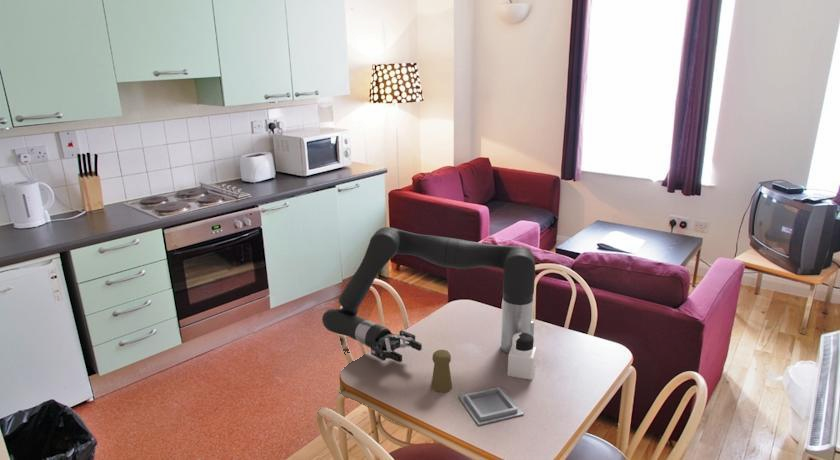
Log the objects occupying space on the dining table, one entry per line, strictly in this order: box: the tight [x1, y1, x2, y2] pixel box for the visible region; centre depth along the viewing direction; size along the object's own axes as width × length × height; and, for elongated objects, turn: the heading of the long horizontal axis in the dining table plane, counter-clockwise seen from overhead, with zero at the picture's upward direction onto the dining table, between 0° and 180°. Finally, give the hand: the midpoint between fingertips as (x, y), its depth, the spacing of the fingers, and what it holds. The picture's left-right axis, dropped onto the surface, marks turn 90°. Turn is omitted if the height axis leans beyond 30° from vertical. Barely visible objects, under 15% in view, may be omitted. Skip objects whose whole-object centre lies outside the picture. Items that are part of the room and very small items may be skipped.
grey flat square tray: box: [458, 386, 525, 427], centre depth 148 cm, size 13×13×1 cm
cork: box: [430, 349, 453, 394], centre depth 156 cm, size 6×6×11 cm
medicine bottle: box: [507, 333, 537, 381], centre depth 162 cm, size 7×7×12 cm
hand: (411, 353), depth 163 cm, fingers open, 8 cm apart
